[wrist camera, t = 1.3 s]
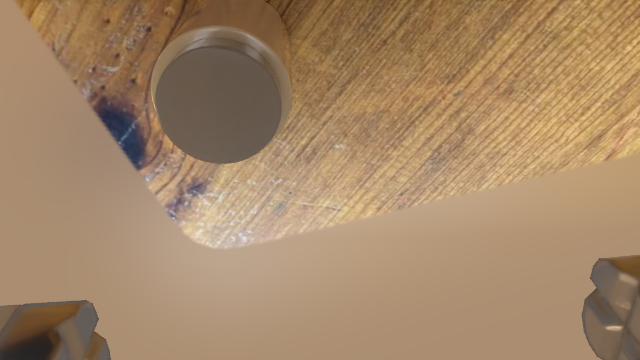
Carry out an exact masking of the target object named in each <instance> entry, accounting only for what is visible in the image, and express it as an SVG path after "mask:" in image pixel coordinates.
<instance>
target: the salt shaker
mask: <svg viewBox="0 0 640 360" xmlns="http://www.w3.org/2000/svg"><path fill="white" fill-rule="evenodd" d="M151 97H152V102H153V106H154V109H155V112H156V114H157V117H158V120H159V123H160V125H161V127H162V129H163V130H164V132H165V134H166V135H167V136H168V138H169V139H170V140H171V141H172V142H173V143H174V144H175V145H176V146H177V147H178V148H179V149H181V150H182V151H183V152H185V153H186V154H188V155H190V156H192V157H194V158H196V159H199V160H202V161H205V162H210V163H218V164H227V163H235V162H239V161H242V160H245V159H248V158H250V157H252V156H254V155H256V154H257V153H258V152H260V151H261V150H262V149H264V148H265V147H266V146H267V145H269V144H270V143H271V142H272V141H273V140H274V139H275V138H276V137H277V136H278V135H279V134H280V133H281V131H282V130H283V128H284V126H285V125H286V122H287V120H288V118H289V115H290V111H291V107H292V70H291V45H290V37H289V33H288V30H287V27H286V25H285V23H284V21H283V19H282V18H281V16H280V15H279V14H278V12H277V11H276V10H275V9H274V8H273V7H272V6H271V5H270V4H269V3H267V2H266V1H264V0H202V1H201V2H200V3H199V4H198V5H197V6H196V7H195V8H194V9H193V10H192V11H191V13H190V14H189V15H188V17H187V18H186V20H185V21H184V22H183V24H182V25H181V26H180V28H179V29H178V31H177V32H176V33H175V35H174V36H173V37H172V39H171V40H170V42H169V43H168V44H167V46H166V47H165V48H164V50H163V51H162V53H161V54H160V56H159V57H158V59H157V62H156V64H155V66H154V69H153V73H152V78H151Z"/></svg>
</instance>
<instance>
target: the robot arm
mask: <svg viewBox="0 0 640 360" xmlns="http://www.w3.org/2000/svg"><path fill="white" fill-rule="evenodd" d="M590 279H591V280H592V282H593V283H594V284H595V286H596V289H595V290H594V291H593V292H592V293H591V294H590V295H589V296H588V297H587V298H586V299H585V301H584V306H583V312H582V321H583V328H584V333H585V335H586V338H587V340H588V343H589V345H590V346H591V348H592V350H593V351H594V352H595V354H596V355H597V357H599V358H600V359H602V360H640V255H633V256H622V257H610V258H599V259H598V261H597V262H596V263H595V264H594V266H593V269H592V273H591V277H590ZM98 320H99V318H98V315H97V313H96V310H95V308H94V306H93V303H91V302H89V301H87V300H82V301H66V302H48V303H32V304H23V305H7V306H0V360H111V358H110V351H109V348H108V345H107V341H106V339H104V338H103V337H102V336H100V335H99V334H98V333H96V332H95V331H94V329H95V327H96V325H97V322H98Z"/></svg>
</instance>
